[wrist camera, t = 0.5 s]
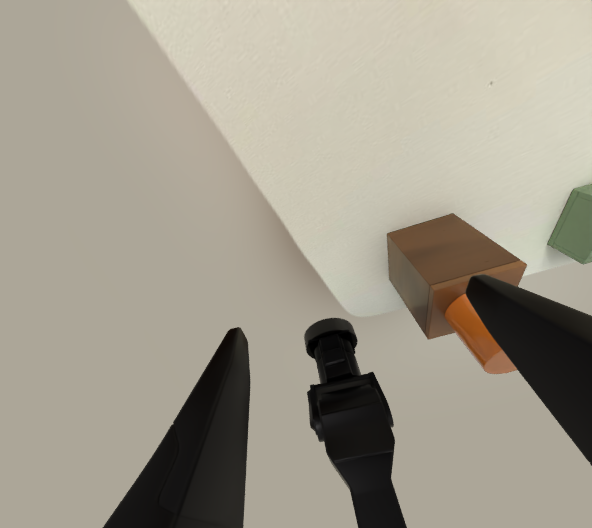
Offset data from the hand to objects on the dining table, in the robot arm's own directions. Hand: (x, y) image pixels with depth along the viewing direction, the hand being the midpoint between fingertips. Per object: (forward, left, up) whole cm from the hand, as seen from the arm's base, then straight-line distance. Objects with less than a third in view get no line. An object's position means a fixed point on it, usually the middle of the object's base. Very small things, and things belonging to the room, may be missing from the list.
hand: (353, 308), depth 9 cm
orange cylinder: (-9, -9, -4) cm, 13 cm away
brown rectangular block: (-9, -9, -12) cm, 17 cm away
